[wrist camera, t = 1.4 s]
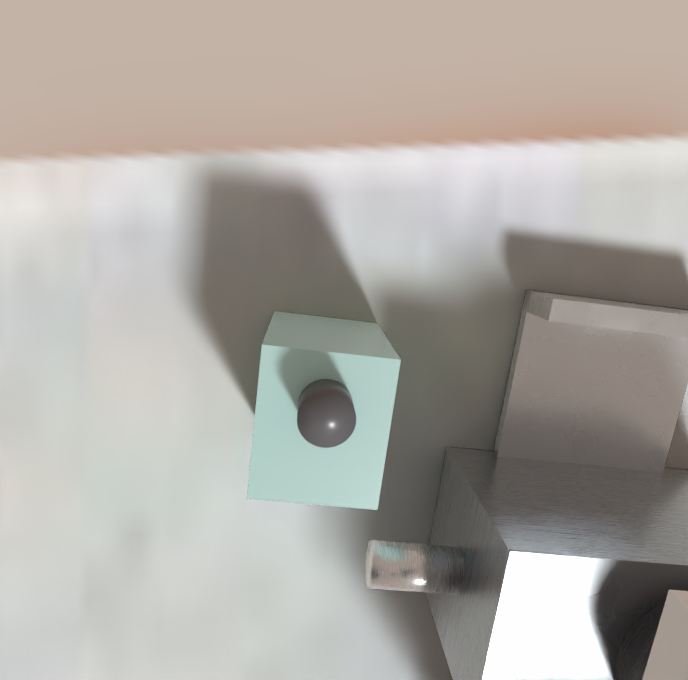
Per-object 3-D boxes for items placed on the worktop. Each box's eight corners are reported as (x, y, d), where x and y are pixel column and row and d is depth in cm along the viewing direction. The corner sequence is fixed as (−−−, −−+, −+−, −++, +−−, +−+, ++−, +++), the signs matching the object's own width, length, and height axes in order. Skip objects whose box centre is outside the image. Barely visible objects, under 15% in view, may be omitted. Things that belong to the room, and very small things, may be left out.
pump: (262, 428, 27) (241, 520, 19) (274, 310, 26) (257, 354, 18) (360, 437, 28) (382, 531, 19) (377, 322, 26) (408, 371, 18)
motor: (349, 577, 29) (377, 816, 18) (395, 273, 26) (467, 318, 14) (662, 599, 31) (877, 832, 19) (744, 316, 27) (1068, 390, 16)
